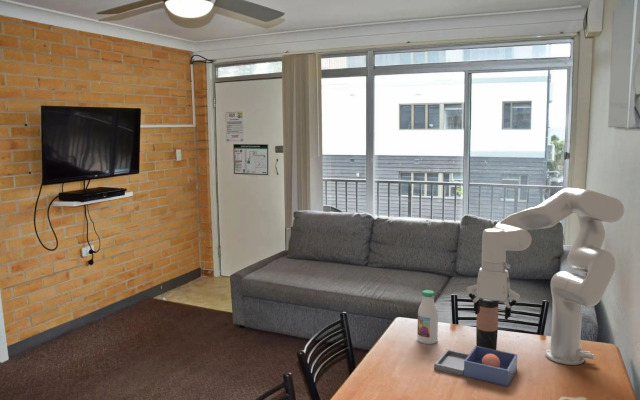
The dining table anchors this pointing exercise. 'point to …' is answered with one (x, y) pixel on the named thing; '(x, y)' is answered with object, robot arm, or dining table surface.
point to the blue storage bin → (490, 373)
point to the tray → (451, 362)
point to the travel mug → (487, 324)
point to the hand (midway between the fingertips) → (491, 315)
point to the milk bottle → (427, 319)
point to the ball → (491, 360)
